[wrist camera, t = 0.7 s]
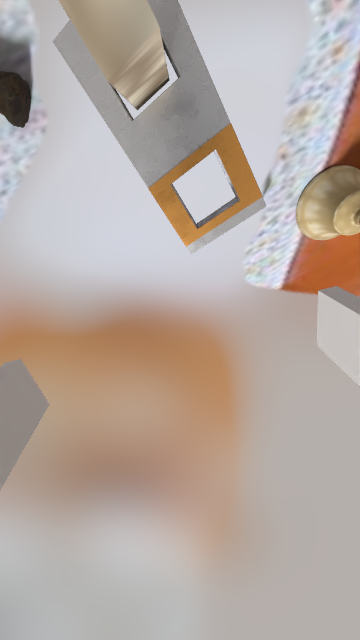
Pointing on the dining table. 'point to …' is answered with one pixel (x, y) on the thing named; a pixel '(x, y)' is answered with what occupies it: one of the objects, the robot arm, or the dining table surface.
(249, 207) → the grey board
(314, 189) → the hand bell
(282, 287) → the dining table surface
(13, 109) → the hand tool
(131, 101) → the peg
